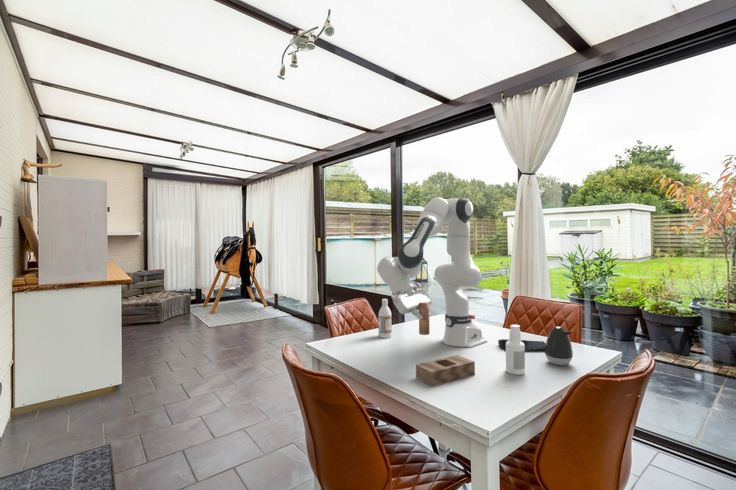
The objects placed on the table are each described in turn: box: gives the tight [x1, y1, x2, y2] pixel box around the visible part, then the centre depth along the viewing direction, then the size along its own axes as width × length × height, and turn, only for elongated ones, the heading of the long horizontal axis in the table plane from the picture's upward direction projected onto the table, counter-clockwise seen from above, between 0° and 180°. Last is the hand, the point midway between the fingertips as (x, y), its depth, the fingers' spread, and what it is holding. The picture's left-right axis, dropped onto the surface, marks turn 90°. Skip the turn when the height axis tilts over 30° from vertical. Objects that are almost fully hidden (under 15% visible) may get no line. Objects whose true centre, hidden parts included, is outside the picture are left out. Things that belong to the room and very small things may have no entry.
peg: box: [418, 302, 430, 336], centre depth 137 cm, size 4×4×12 cm
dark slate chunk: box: [497, 338, 546, 352], centre depth 166 cm, size 15×22×5 cm
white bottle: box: [505, 324, 526, 376], centre depth 136 cm, size 7×7×18 cm
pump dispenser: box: [544, 326, 574, 366], centre depth 144 cm, size 10×10×15 cm
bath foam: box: [377, 298, 393, 339], centre depth 187 cm, size 7×7×20 cm
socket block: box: [415, 354, 476, 387], centre depth 132 cm, size 21×9×5 cm, turn 119°
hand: (425, 317), depth 137 cm, fingers closed on peg, 4 cm apart
